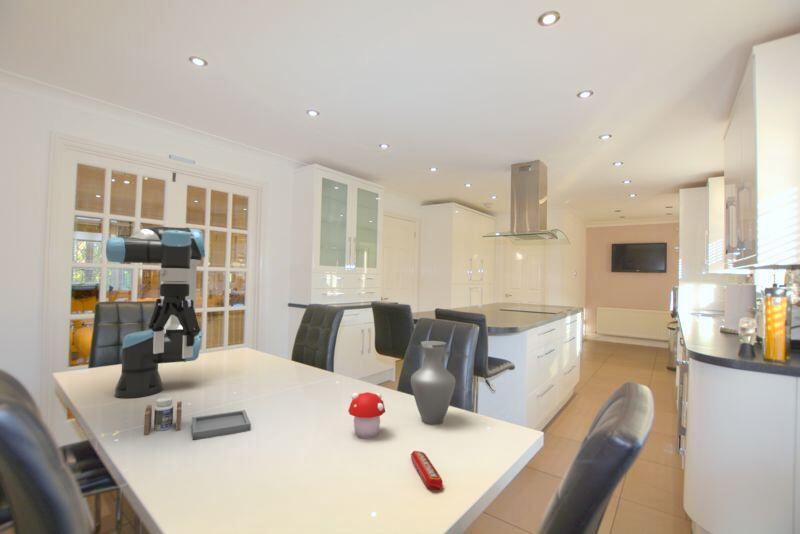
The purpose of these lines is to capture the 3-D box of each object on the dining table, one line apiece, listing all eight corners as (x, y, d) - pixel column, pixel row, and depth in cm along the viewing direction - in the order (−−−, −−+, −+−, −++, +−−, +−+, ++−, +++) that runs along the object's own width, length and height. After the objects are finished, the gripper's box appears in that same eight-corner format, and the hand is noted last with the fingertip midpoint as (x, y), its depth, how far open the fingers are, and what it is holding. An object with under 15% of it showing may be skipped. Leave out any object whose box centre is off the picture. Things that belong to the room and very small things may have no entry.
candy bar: (445, 493, 82) (445, 478, 82) (428, 495, 81) (428, 480, 81) (422, 458, 97) (422, 446, 97) (408, 459, 96) (409, 447, 96)
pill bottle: (163, 431, 110) (164, 402, 110) (149, 430, 111) (150, 401, 111) (176, 425, 115) (177, 397, 115) (163, 424, 116) (163, 396, 116)
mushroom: (390, 429, 114) (391, 389, 115) (376, 444, 104) (377, 400, 105) (358, 424, 118) (359, 385, 118) (341, 438, 108) (342, 395, 108)
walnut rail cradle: (146, 425, 114) (147, 405, 114) (181, 420, 119) (181, 401, 119) (143, 435, 107) (144, 414, 107) (180, 429, 112) (181, 409, 112)
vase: (460, 417, 126) (461, 341, 126) (447, 433, 113) (448, 348, 113) (419, 410, 132) (421, 337, 133) (402, 424, 119) (404, 343, 120)
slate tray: (192, 424, 116) (192, 417, 116) (244, 416, 123) (245, 409, 123) (192, 440, 105) (192, 432, 105) (250, 430, 112) (250, 423, 112)
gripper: (136, 282, 115) (134, 353, 114) (190, 283, 104) (187, 362, 103) (161, 282, 122) (159, 349, 121) (214, 283, 110) (212, 357, 110)
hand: (172, 355), depth 112 cm, fingers open, 13 cm apart
